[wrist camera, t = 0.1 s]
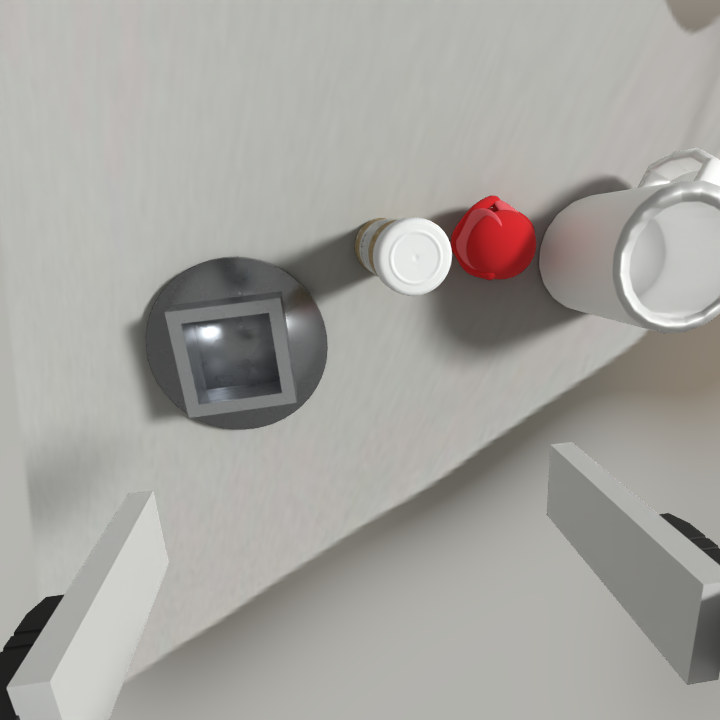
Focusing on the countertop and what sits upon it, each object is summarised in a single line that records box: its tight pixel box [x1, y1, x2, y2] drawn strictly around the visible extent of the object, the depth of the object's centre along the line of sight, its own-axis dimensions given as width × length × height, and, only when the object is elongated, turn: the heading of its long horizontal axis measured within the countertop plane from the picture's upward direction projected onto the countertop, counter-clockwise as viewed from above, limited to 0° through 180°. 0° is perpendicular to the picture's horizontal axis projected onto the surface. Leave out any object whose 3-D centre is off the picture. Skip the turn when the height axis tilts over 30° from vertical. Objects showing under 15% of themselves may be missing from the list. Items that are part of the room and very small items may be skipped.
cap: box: [451, 196, 536, 280], centre depth 40 cm, size 8×6×6 cm
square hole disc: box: [146, 257, 328, 429], centre depth 40 cm, size 15×15×4 cm
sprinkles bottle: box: [355, 217, 452, 296], centre depth 35 cm, size 5×5×13 cm
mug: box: [539, 148, 720, 333], centre depth 38 cm, size 14×10×11 cm
